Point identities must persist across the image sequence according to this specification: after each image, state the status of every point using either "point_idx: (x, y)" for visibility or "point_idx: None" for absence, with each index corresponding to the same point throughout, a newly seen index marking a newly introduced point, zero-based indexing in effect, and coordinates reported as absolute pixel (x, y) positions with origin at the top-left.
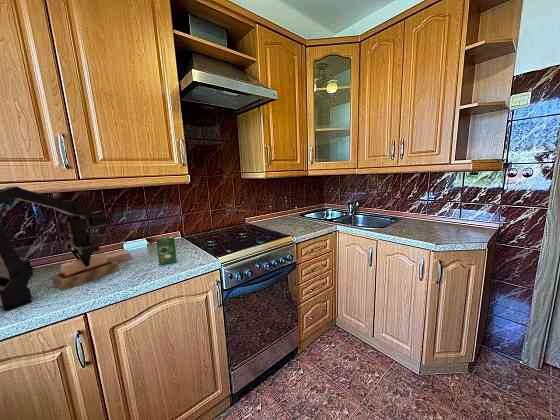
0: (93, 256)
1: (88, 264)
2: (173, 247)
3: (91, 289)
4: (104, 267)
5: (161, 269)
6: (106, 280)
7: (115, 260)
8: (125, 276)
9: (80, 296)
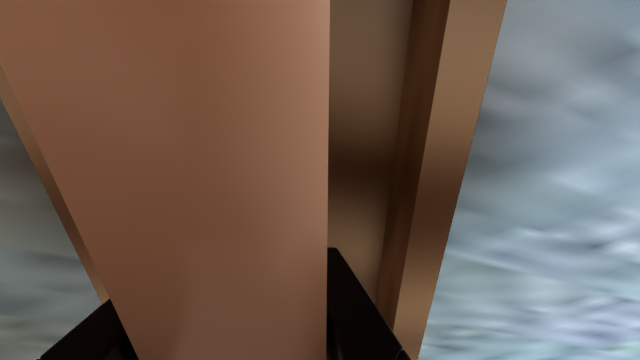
0: (191, 232)
1: (345, 269)
2: None
3: (607, 233)
4: (485, 60)
5: None
6: (590, 96)
7: None
8: None
9: (620, 295)
